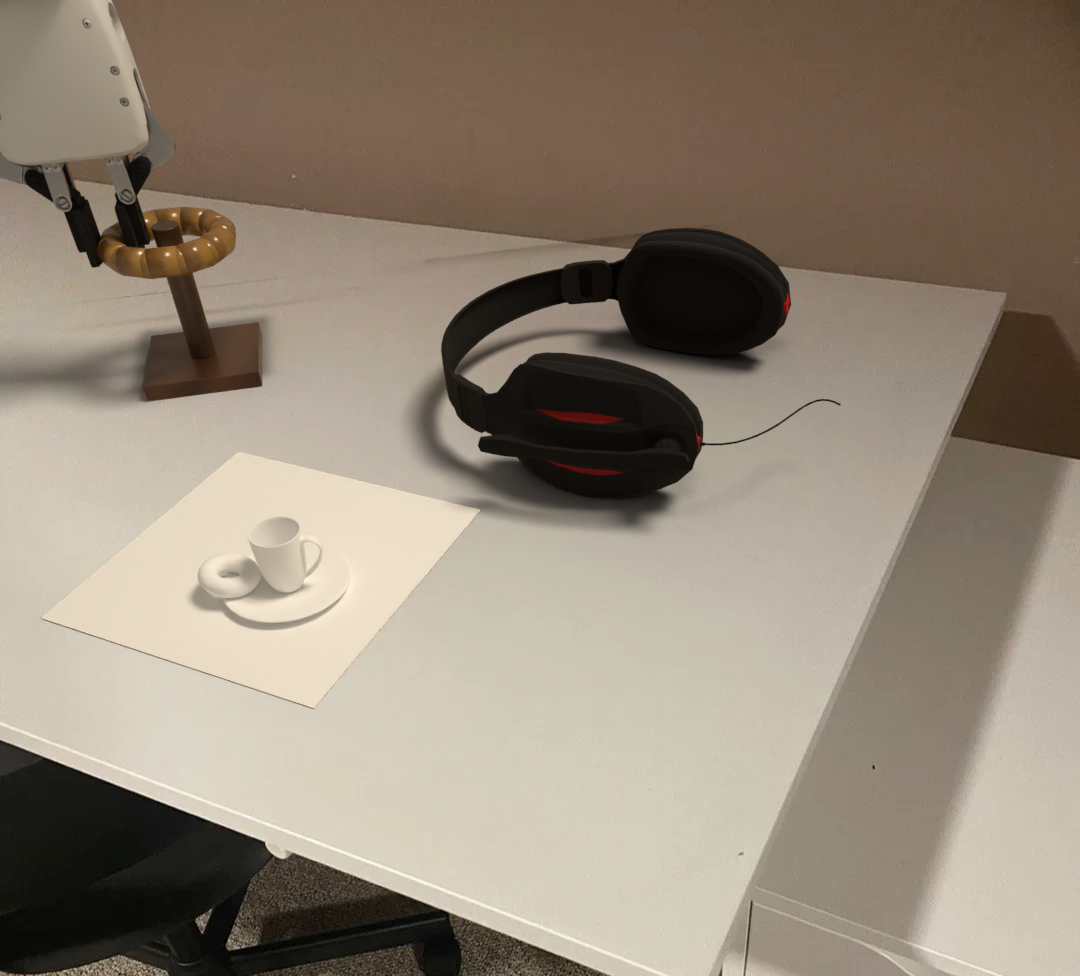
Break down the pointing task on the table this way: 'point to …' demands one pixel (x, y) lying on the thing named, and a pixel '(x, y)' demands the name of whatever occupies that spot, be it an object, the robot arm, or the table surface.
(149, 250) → the ring
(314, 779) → the table surface
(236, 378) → the rack
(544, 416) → the headset
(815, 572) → the table surface
